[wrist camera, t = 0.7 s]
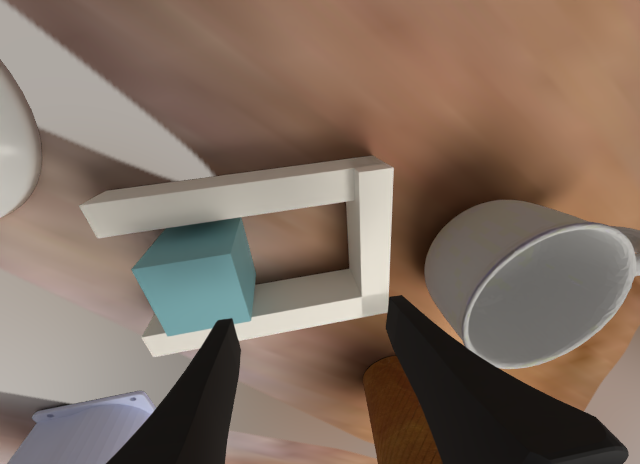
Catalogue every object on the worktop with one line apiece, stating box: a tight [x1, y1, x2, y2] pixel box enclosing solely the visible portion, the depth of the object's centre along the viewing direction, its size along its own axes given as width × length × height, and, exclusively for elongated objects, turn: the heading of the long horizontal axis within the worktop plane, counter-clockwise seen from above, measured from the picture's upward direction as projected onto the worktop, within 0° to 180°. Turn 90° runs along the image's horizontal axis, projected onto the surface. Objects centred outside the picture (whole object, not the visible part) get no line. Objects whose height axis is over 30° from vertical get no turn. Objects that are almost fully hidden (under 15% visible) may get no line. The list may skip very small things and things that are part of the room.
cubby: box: [79, 156, 394, 357], centre depth 18 cm, size 17×11×4 cm, turn 96°
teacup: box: [424, 200, 640, 369], centre depth 19 cm, size 14×11×8 cm
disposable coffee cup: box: [363, 356, 443, 464], centre depth 24 cm, size 10×10×12 cm
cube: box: [131, 217, 256, 336], centre depth 17 cm, size 5×5×5 cm
